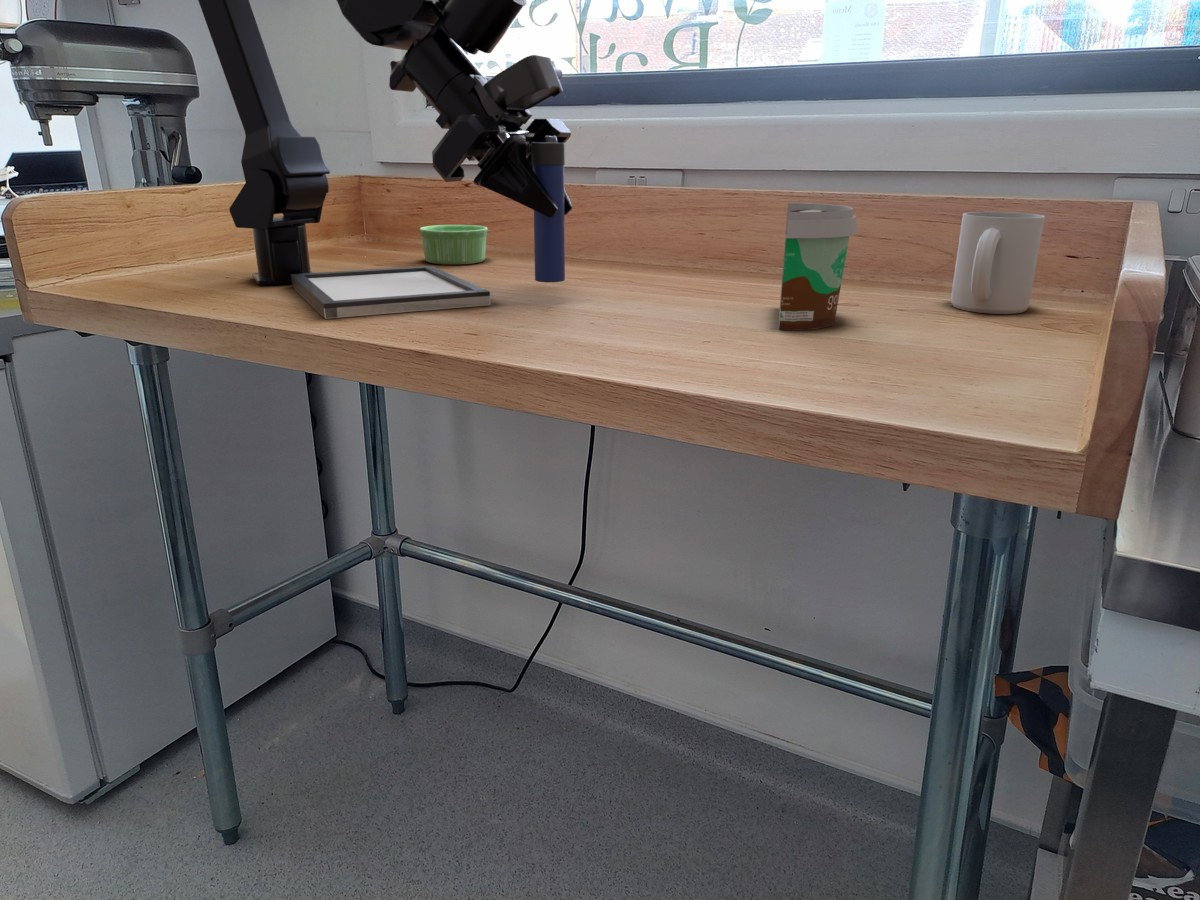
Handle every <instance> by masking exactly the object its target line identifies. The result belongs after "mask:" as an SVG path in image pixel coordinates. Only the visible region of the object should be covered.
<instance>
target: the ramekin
mask: <svg viewBox="0 0 1200 900" xmlns="http://www.w3.org/2000/svg"><path fill="white" fill-rule="evenodd" d="M488 231H489V229H488V227H487V226H484V225H477V224H476V225H475V224H474V225H473V224H435V225H427V226H421V227H420V228H419V234H420V236H421V240H422V247H423V255H424V259H425V261H426V262H427V263H430V264H434V265H451V266H452V265H453V266H457V265H458V266H459V265H472V264H478V263H482V262H483V261H484V260H485V259H486V251H487V250H486V249H487V247H486V246H487V236H488V235H487V234H488Z"/></svg>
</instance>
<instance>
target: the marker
mask: <svg viewBox="0 0 1200 900" xmlns="http://www.w3.org/2000/svg"><path fill="white" fill-rule="evenodd" d="M531 150H532V165H533V171H534V172H535V174H536V175H537V177H538V178H539V180H540V181H541V183H542V184H543V186H544V187H545V189H546V190H547V192H548V193H549V195H550V197H551V198H552V200H553V202H554V203H555V205H556V207H557V208H558V211H557V213H556V214H555V215H554V216H553V217H547V216H545V215H543V214H541V213H539V212H537V211H535V210H533V243H534V245H533V246H534V248H533V249H534V280H535V281H536V282H537V283H560V282H564V281H565V280H566V270H565V269H566V252H565V251H566V246H565V245H566V243H565V242H566V240H565V235H566V234H565V233H566V232H565V230H566V229H565V226H566V225H565V215H564V189H565V165H566V142H565V143H531Z"/></svg>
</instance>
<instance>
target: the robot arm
mask: <svg viewBox="0 0 1200 900" xmlns="http://www.w3.org/2000/svg"><path fill="white" fill-rule="evenodd" d="M197 1H198V4H199V7H200V8H201V13H202V15H203V18H204V21H205V24H206V27H207V29H208V32H209V35H210V38H211V40H212V43H213V47H214V49H215V52H216V55H217V57H218V58H217V59H218V60H219V63H220V66H221V69H222V72H223V75H224V77H225V80H226V83H227V86H228V88H229V91H230V94H231V97H232V99H233V103H234V105H235V108H236V111H237V114H238V117H239V119H240V122H241V125H242V128H243V131H244V135H245V138H244V144H243V149H242V154H241V158H240V159H241V162H240V163H241V168H242V173H243V177H244V181H245V183H244V185H243V186H242V188H241V190H240V191H239V193H238V194H237V196H236V197H235V198H234V200H233V202H232V203H231V205H230V207H229V210H228V211H229V213H230V216H231V218H232V222H233V224H234V226H235V227H236V228H237V229H238V228H239V229H252V235H253V236H252V237H253V243H254V251H255V258H256V266H257V272H253V273H252V279H254V280H255V282H256V284H258V285H276V284H278V285H279V284H290V283H291V284H292V281H291V274H302V273H314V272H313V271H311V262H310V253H309V243H308V236H307V226H306V224H320V222H321V218H322V217H321V216H322V212H323V207H324V203H325V201H326V197H327V194H328V193H329V187H330V186H329V181H328V176H327V175H330V173H331V171H330V170H329V168H328V167H327V166H326V163H325V161H324V159H323V155H322V150H321V145H320V143H319V140H318V139H317V138H316V137H315V136H303V135H301V133H299V131H298V130H297V129H295V127H294V126H293V124H292V122H291V119H290V116H289V112H287V108H286V104H285V102H284V99H283V96H282V94H281V90H280V87H279V85H278V82H277V79H276V76H275V73H274V69H273V67H272V64H271V61H270V58H269V55H268V53H267V49H266V47H265V43H264V41H263V37H262V35H261V32H260V29H259V26H258V24H257V19H256V17H255V14H254V11H253V8H252V6H251V3H250V0H197ZM335 1H336V2H337V5H338V7H339V10H340V12H341V15H342V16H343V17H344V19H345V20H346V21H347V22H348V23H349V24H350V25H351V27H352V28H353V29H354V30H355V31H356V32H357V34H358V35H359V36H360V37H361V38H362V39H363V40H364V41H365V42H366V43H368V44H370V45H372V46H377V47H381V48H382V47H383V48H388V49H395V50H402V51H406V52H405V54H404V55H403V57H402V58H401V59H400V60H398V61H397V60H391V61H390V63H389V66H390V75H389V82H388V83H389V85H388V87H389V89H390V90H392V91H396V92H397V91H398V92H408V93H413V92H414V91H416V89H418V91H419V92H420V93H421V94H422V95H423V97H424V98H425V99H426V100H427V101H428V102H429V104H430V105H431V106H432V108H434V110H435V111H436V112H437V113H438V114H439V115H438V117H437V118H436V119H435V122H436V123H437V125H438V126H439V127H440V128H441V129H442V130H447V131H446V133H445V134H444V135H443V136H442V138H441V139H440V140H439V142H438V143H437V145H436V146H435V147H434V148H433V150H432V151H431V157H432V158H431V159H432V168H433V169H434V170H435V172H437V174H438V175H439V176H440V177H441V178H442V179H443V181H444V182H445V183H452V182H462V180H463V179H464V178H465V170H464V168H463V167H462V166H461V165H462V164H463V163H464V162H465V161H466V159H467V160H468V161H469V162H473V161H474V162H475V161H476V162H478V163H477V164H476V167H477V168H478V169H479V170H480V171H479V172H478V173H477V175H476V176H475V177H474V178H473V181H472V182H473V184H474V185H475V186H477V187H483V188H485V189H487V190H489V191H492V192H494V193H495V194H499V195H500V196H503V197H506V198H508V199H509V200H512V201H514V202H516V203H518V204H520V205H522V206H525V208H526V207H527V208H529V209H530V210H532V211H534V210H535V211H537V212H539V213H541V214H543V215H545V216H547V217H553V216H554V215H555V214H556V213H557V211H558V208H557V207H556V205H555V203H554V202H553V200H552V198H551V197H550V195H549V193H548V192H547V190H546V189H545V187H544V186H543V184H542V183H541V181H540V180H539V178H538V177H537V175H536V174H535V172H534V171H533V165H532V150H531V143H565V144H566V142H567V141H569V139H570V138H571V136H572V132H571V130H570V129H569V128H568V127H567V126H566V125H565V123H564V122H563V121H562V120H561V119H559V118H558V119H557V118H556V119H555V118H534V119H533V120H532V121H531V123H529V125H528V126H527V127H526V129H525V130H523V129H522V128H521V127H523V126H524V125H526V124H527V122H528V121H530V119H531V118H532V117H533V114H532V113H531V112H530V110H529V109H532V108H534V107H536V106H537V105H540V103H543V102H545V101H546V100H547V99H549V98H551V97H553V98H556V97H557V96H559V95H560V94H561V93H563V91H564V89H563V87H562V84H561V79H562V78H563V71H562V70H561V69H560V68H558V67H557V66H556V64H555V61H554V60H552V59H551V58H550V57H548V56H542V55H538V54H532V55H527V56H526V57H523V58H522V59H519V60H518V61H517V62H515V63H513V64H511V65H510V66H509V67H506V68H505V69H504V70H502V71H501V72H499V73H497V74H496V75H494V77H493V76H492V77H490V76H486V75H485V74H484V73H483V72H482V71H481V70H480V69H479V67H478V66H477V65H476V64H475V63H474V61H473V60H472V59H471V58H470V57H469V56H468V55H467V54H471V55H476V54H478V53H479V52H482V53H485V54H491V53H492V52H493V51H494V49H495V48H496V46H497V45H498V44H499V42H500V41H501V40H502V39H503V37H504V36H505V35H506V33H507V32H508V31H509V29H510V28H511V27H512V25H513V24H514V22H515V21H516V20H517V19H518V17H519V16H520V15H521V13H522V12H523V10H524V9H525V8H526V6H527V5H528V2H527V0H335ZM466 52H467V53H466ZM572 210H573V205H572V202H571V200H570V197H569V196H568V194H567V191H566V189H565V188H564V216H566V215H568V214H569V213H570V212H571V211H572ZM281 214H282V215H281ZM275 215H280V216H275Z"/></svg>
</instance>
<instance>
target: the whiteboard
mask: <svg viewBox="0 0 1200 900" xmlns="http://www.w3.org/2000/svg"><path fill="white" fill-rule="evenodd" d="M291 281H292V283H291V287H292V288H293V289H294V290H295V292H297V294H299V295H300V296H301V297H302V298H303V299H304V300H305V301H306V302H307V303H308V304H309V305H311V307H312V308H314V310H315V311H316V312H318V314H320V315H321V316H322V317H323V318H324V319H325V320H326V319H327V320H329V319H339V318H350V317H364V316H378V315H388V314H389V315H390V314H400V313H411V312H412V313H413V312H423V311H437V310H449V309H461V308H472V307H474V308H475V307H486V306H491V304H492V303H491V291H490V290H487V289H485V288H483V287H481V286H478V285H476V284H474V283H472V282H470V281H467V280H465V279H463V278H460V277H458V276H456V275H454V274H451V273H449V272H446V271H444V270H442V269H440V268H437V267H435V266H434V265H421V266H420V265H419V266H406V267H390V268H370V269H356V270H355V269H353V270H339V271H338V270H337V271H319V272H313V273H302V274H291Z"/></svg>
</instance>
